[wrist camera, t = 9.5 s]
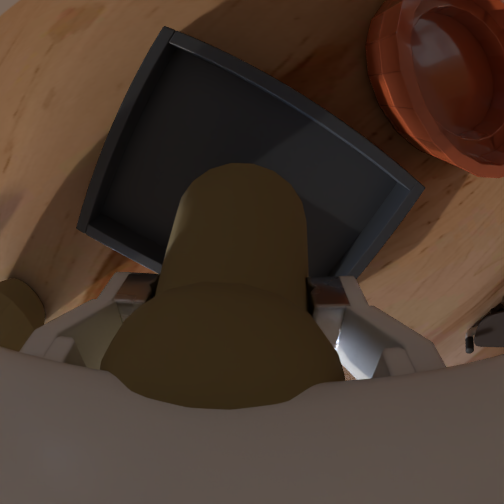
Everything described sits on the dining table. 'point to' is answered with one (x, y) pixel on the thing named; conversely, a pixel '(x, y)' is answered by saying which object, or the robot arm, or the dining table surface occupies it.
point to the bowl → (443, 78)
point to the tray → (237, 158)
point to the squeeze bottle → (18, 313)
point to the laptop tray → (487, 331)
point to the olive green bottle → (228, 301)
